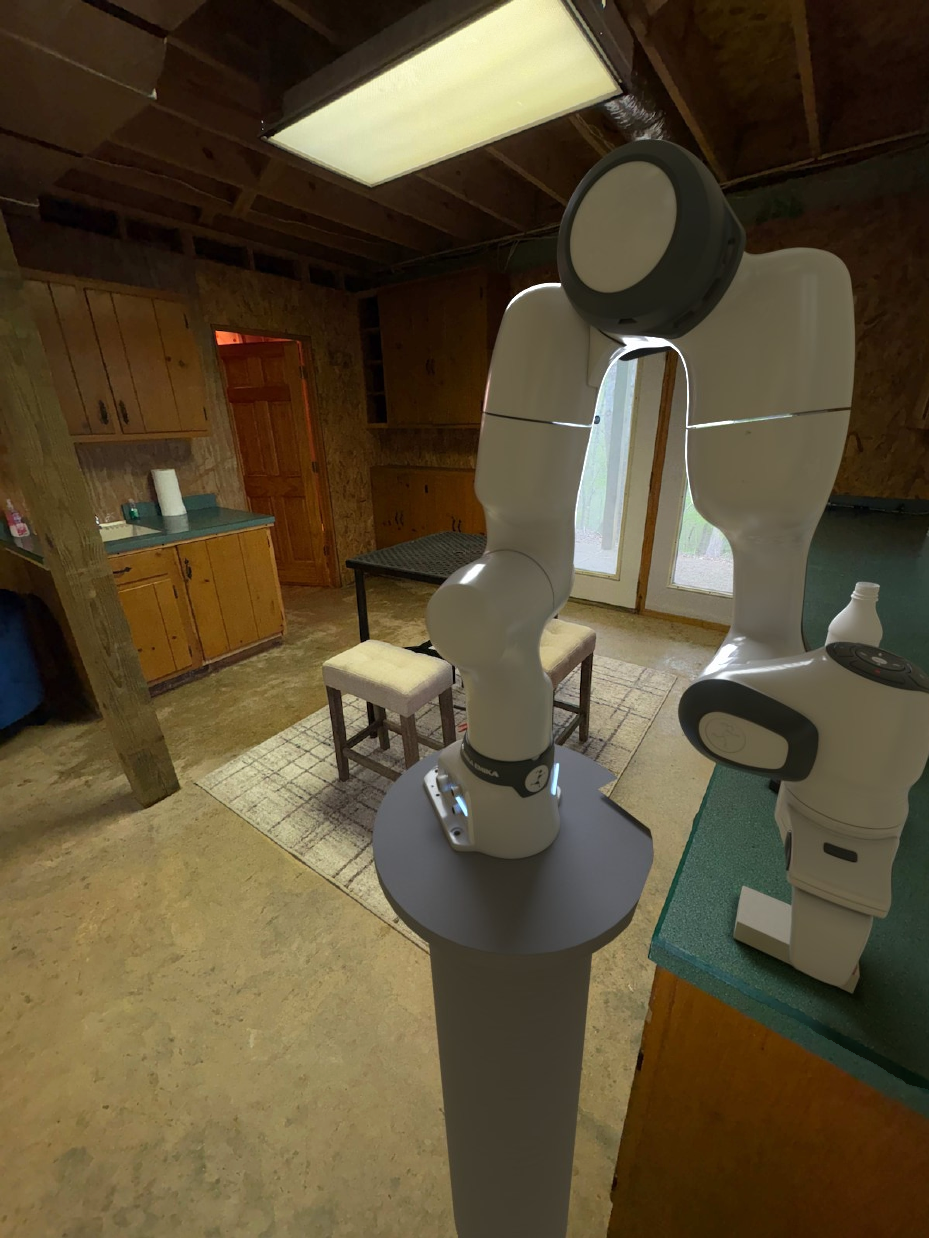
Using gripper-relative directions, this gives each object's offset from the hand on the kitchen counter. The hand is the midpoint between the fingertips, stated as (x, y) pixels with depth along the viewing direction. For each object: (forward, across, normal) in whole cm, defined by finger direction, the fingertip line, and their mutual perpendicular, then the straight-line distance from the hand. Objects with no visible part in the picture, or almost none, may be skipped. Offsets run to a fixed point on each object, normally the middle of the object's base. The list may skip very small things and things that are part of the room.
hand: (803, 924), depth 49 cm
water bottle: (+3, -51, +4) cm, 52 cm away
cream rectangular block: (+3, 0, -1) cm, 3 cm away
